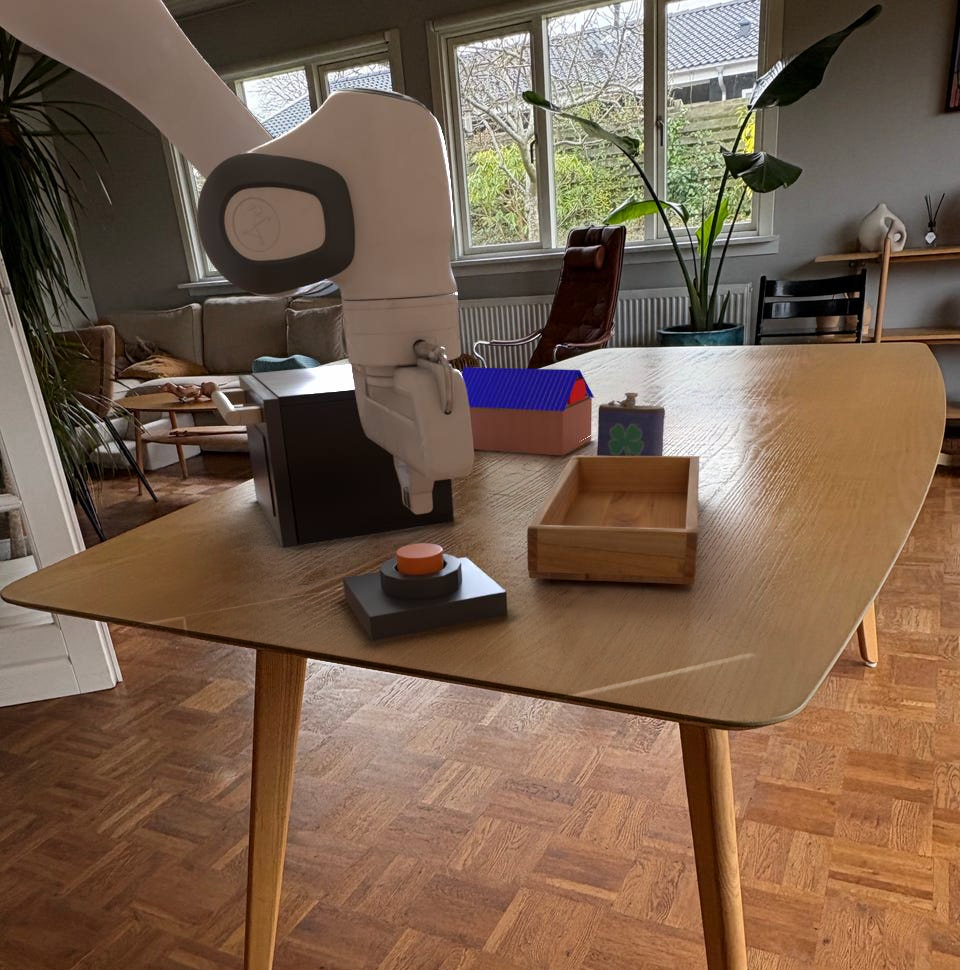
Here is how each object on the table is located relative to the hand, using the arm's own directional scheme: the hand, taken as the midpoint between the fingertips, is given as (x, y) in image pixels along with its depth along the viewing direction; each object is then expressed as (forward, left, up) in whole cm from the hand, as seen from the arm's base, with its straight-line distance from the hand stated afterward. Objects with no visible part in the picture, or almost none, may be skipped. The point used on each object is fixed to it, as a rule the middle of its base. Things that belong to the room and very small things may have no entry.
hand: (418, 509), depth 71 cm
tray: (+25, +9, -9) cm, 28 cm away
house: (+35, +58, -9) cm, 68 cm away
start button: (0, 0, -5) cm, 5 cm away
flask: (+40, +33, -9) cm, 52 cm away
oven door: (-10, +34, -9) cm, 37 cm away
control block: (0, 0, -9) cm, 9 cm away
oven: (+2, +34, -9) cm, 35 cm away
